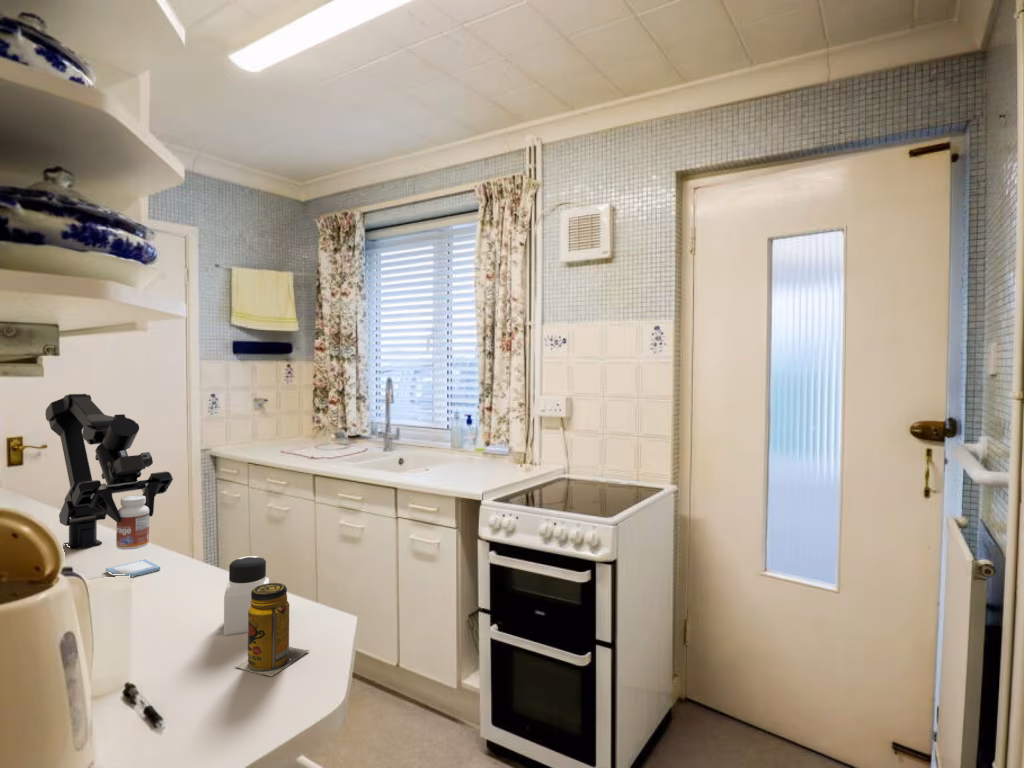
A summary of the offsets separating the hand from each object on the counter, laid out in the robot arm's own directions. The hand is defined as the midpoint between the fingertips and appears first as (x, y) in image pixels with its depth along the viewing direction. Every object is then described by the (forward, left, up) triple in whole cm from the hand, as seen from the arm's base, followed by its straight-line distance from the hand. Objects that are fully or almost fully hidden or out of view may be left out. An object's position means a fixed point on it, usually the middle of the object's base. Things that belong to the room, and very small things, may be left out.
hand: (135, 518), depth 126 cm
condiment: (+59, -2, -13) cm, 60 cm away
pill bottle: (-1, 0, -7) cm, 7 cm away
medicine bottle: (+44, +2, -12) cm, 46 cm away
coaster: (-1, 0, -12) cm, 12 cm away
